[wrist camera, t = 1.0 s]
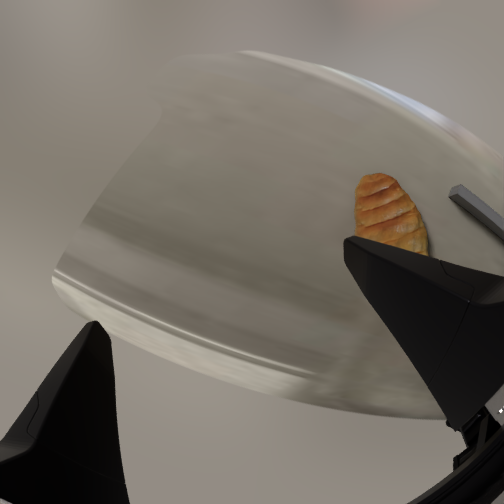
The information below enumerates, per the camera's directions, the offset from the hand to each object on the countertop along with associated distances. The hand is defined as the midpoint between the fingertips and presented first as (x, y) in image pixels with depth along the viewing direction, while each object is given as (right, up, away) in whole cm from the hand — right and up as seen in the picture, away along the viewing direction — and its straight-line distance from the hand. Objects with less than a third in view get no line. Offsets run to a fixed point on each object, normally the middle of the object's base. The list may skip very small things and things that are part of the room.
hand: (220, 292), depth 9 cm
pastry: (+14, +3, +15) cm, 21 cm away
